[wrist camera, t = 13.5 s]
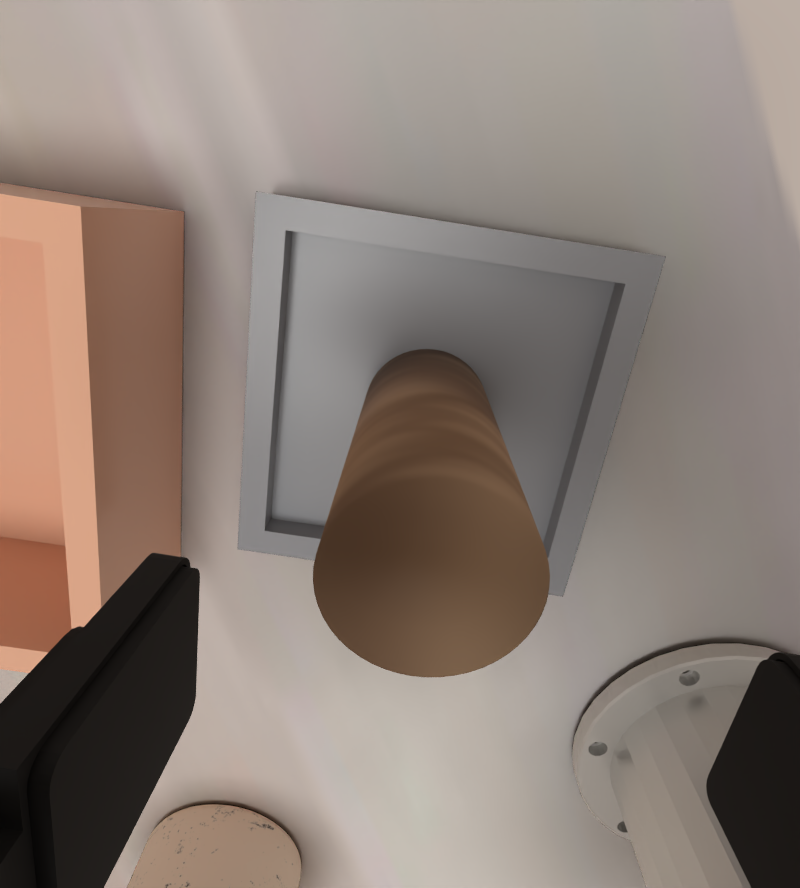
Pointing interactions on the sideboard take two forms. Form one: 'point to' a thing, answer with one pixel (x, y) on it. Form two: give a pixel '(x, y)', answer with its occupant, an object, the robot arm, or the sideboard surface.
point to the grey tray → (430, 327)
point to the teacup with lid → (217, 851)
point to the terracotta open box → (84, 406)
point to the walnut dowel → (429, 528)
